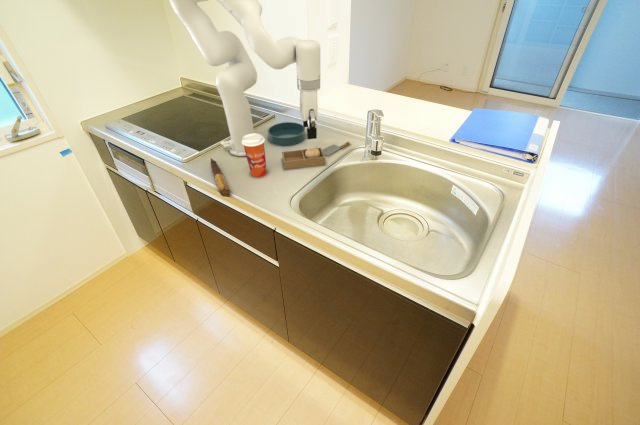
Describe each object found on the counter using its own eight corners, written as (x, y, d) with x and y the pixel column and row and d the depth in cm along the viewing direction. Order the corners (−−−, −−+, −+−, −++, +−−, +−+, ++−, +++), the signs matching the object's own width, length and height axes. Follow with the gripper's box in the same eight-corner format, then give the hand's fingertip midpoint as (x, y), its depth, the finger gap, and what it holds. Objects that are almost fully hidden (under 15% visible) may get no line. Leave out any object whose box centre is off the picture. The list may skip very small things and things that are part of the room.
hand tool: (232, 191, 103) (228, 199, 104) (216, 157, 122) (212, 164, 122) (223, 187, 101) (218, 195, 101) (208, 154, 119) (204, 160, 120)
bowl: (269, 147, 130) (268, 139, 128) (267, 131, 142) (266, 124, 140) (308, 143, 132) (307, 135, 130) (302, 127, 144) (302, 120, 142)
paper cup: (249, 180, 111) (242, 144, 102) (247, 169, 117) (240, 134, 108) (271, 176, 113) (266, 140, 104) (268, 166, 118) (262, 131, 110)
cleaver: (318, 153, 126) (327, 157, 123) (318, 150, 125) (327, 154, 122) (341, 141, 133) (350, 144, 130) (341, 138, 132) (350, 141, 129)
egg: (306, 162, 118) (305, 152, 115) (304, 156, 121) (304, 147, 118) (320, 160, 119) (320, 151, 116) (318, 154, 122) (318, 145, 119)
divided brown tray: (284, 169, 116) (283, 161, 114) (283, 159, 122) (282, 151, 120) (325, 165, 118) (324, 157, 116) (321, 155, 124) (320, 147, 122)
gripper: (294, 76, 108) (296, 123, 119) (300, 93, 95) (302, 144, 106) (315, 75, 109) (316, 121, 120) (325, 91, 96) (324, 142, 107)
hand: (309, 132), depth 113 cm, fingers open, 9 cm apart
